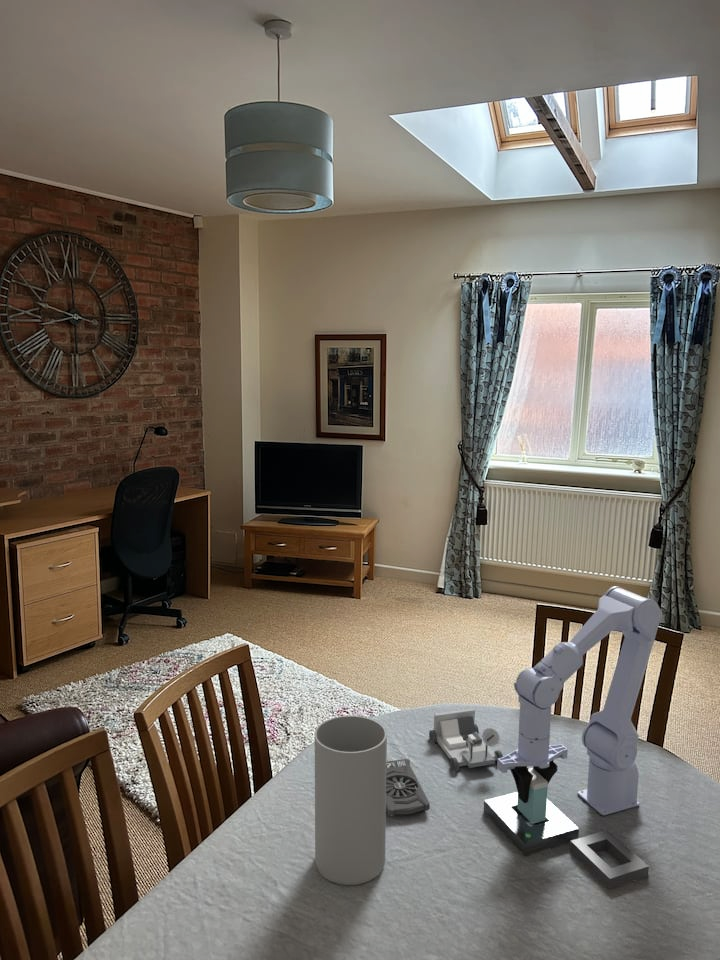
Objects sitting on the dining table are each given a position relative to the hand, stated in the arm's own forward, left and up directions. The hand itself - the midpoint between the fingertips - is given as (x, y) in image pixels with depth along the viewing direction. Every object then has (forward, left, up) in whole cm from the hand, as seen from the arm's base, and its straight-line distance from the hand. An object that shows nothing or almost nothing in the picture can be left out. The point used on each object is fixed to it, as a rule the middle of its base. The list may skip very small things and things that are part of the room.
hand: (530, 797), depth 139 cm
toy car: (-2, -27, -7) cm, 28 cm away
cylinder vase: (+36, -3, -6) cm, 37 cm away
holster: (-7, +14, -6) cm, 17 cm away
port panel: (0, 0, -6) cm, 6 cm away
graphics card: (+20, -19, -7) cm, 28 cm away
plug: (0, 0, -3) cm, 3 cm away
